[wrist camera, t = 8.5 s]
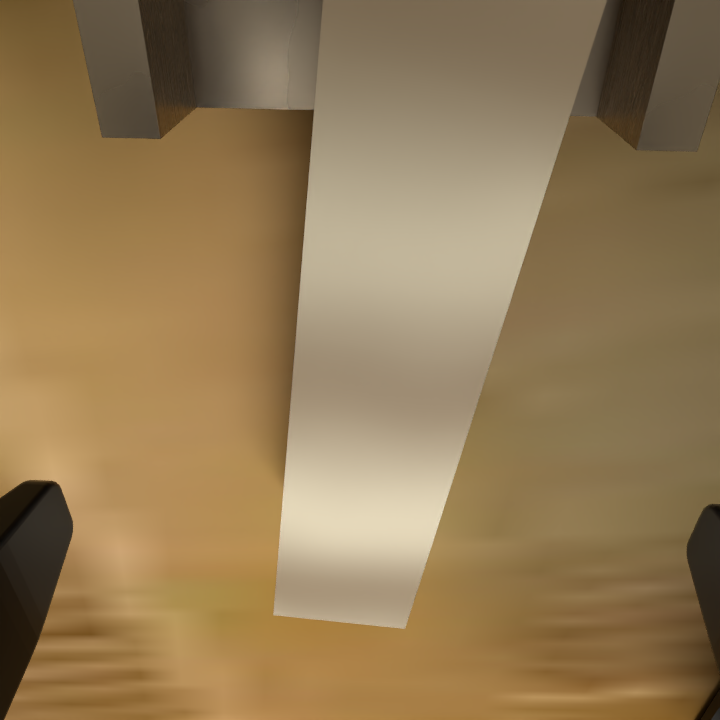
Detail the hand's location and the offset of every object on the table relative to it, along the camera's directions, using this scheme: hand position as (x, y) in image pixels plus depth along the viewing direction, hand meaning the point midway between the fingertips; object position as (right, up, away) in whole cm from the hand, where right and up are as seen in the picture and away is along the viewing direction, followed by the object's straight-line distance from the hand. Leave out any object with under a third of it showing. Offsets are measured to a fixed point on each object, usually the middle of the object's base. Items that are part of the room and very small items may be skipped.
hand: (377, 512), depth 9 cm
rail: (0, +4, +6) cm, 7 cm away
